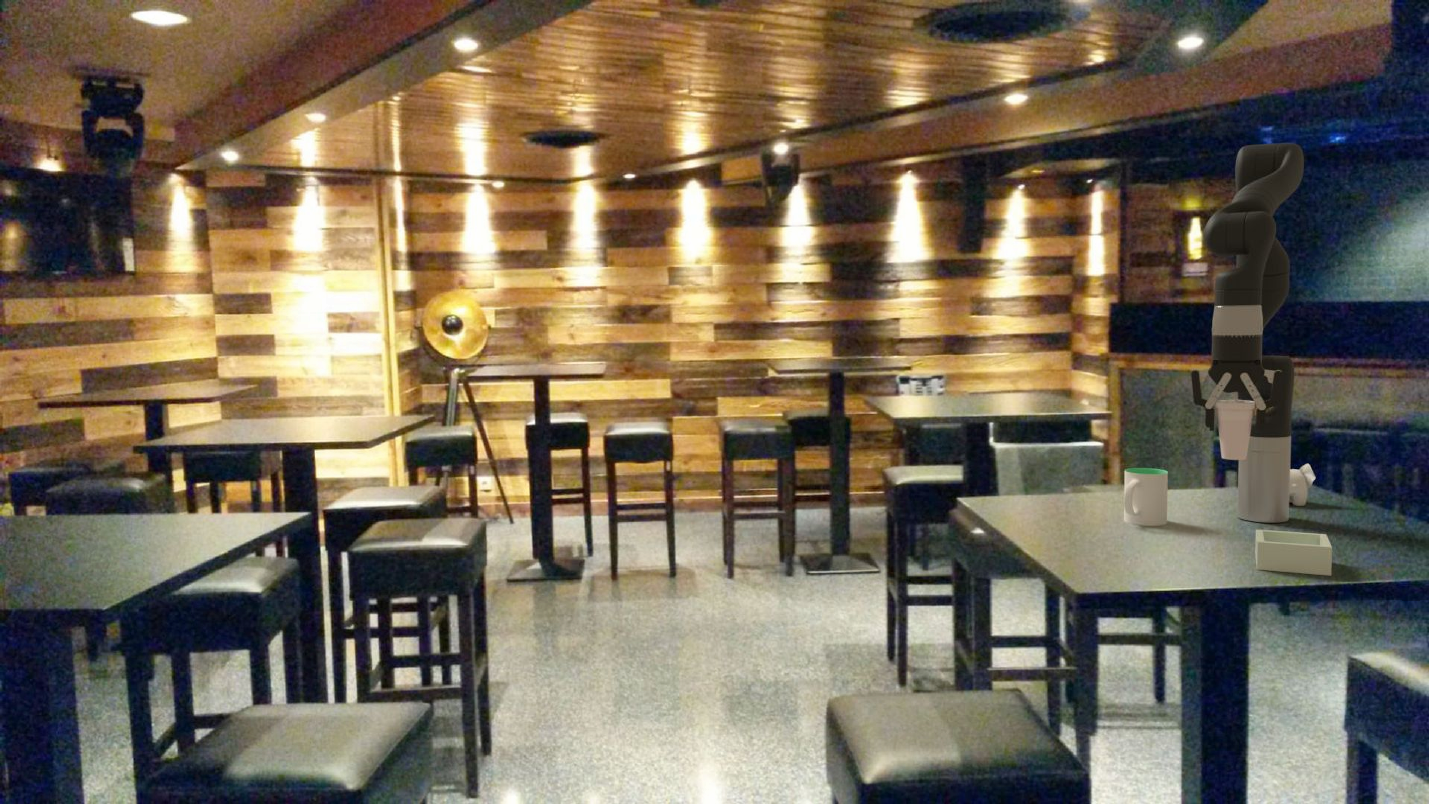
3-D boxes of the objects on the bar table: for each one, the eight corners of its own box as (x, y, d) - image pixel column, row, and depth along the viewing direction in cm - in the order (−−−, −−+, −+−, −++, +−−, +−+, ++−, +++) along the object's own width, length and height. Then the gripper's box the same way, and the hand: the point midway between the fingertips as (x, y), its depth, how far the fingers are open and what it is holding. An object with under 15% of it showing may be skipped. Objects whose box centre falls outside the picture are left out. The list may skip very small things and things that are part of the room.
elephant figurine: (1296, 498, 228) (1297, 459, 227) (1320, 508, 216) (1321, 467, 215) (1251, 497, 229) (1252, 459, 228) (1272, 507, 217) (1273, 467, 216)
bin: (1255, 555, 176) (1255, 529, 176) (1325, 560, 171) (1326, 534, 171) (1257, 569, 167) (1257, 542, 166) (1331, 575, 162) (1332, 547, 162)
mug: (1149, 530, 197) (1150, 478, 196) (1109, 525, 203) (1109, 474, 202) (1173, 521, 206) (1174, 470, 205) (1133, 516, 211) (1134, 466, 210)
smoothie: (1257, 456, 173) (1259, 375, 171) (1252, 462, 167) (1255, 377, 166) (1215, 454, 176) (1217, 374, 175) (1210, 459, 171) (1212, 377, 170)
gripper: (1285, 331, 170) (1282, 430, 171) (1191, 332, 176) (1189, 427, 178) (1286, 333, 163) (1283, 435, 165) (1188, 333, 170) (1186, 432, 171)
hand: (1234, 430), depth 171 cm, fingers closed on smoothie, 6 cm apart
